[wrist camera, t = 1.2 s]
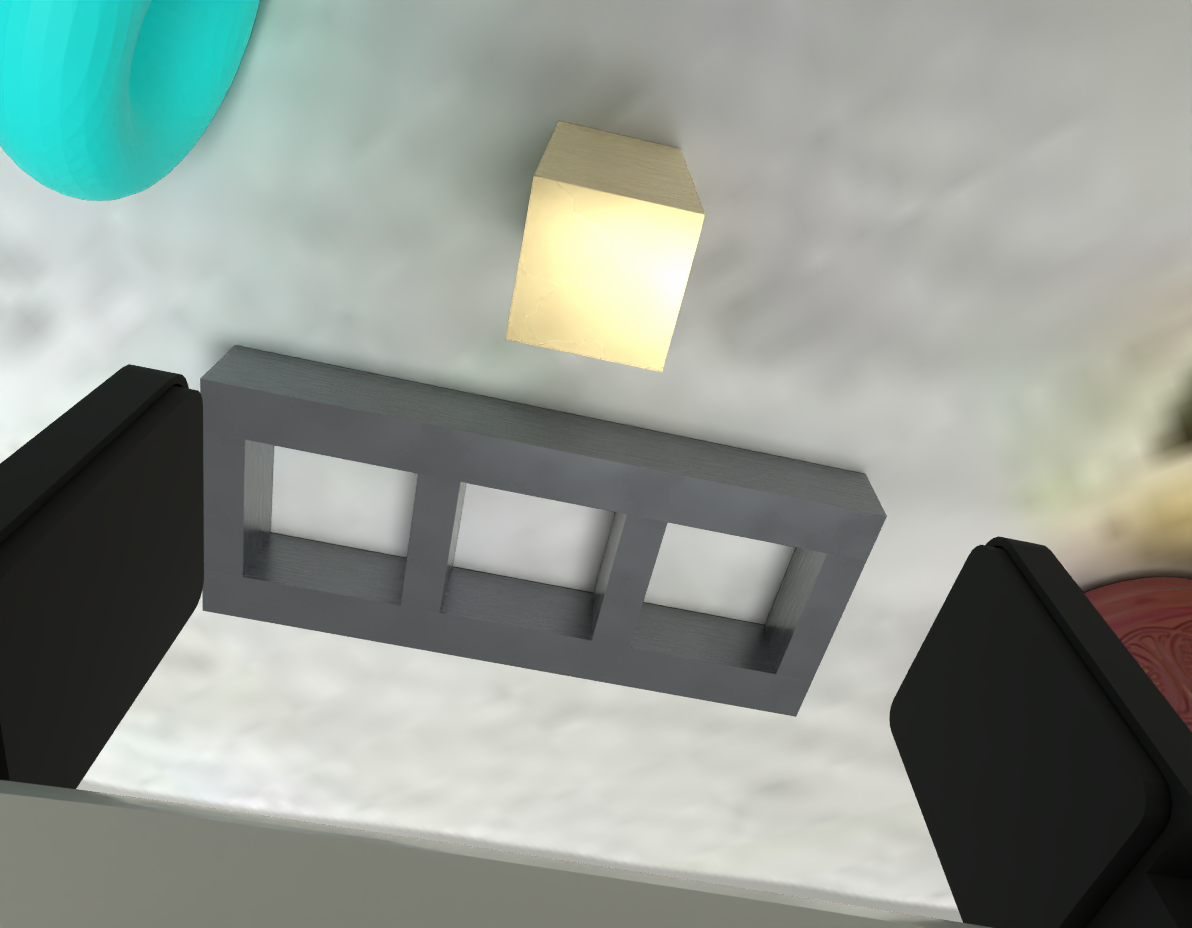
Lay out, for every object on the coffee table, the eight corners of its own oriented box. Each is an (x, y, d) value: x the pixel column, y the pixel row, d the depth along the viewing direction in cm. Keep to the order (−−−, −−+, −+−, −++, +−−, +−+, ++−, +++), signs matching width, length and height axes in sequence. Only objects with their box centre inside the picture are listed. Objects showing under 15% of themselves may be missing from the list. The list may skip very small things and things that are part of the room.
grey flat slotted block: (865, 474, 33) (886, 516, 31) (783, 666, 38) (796, 716, 35) (235, 345, 31) (200, 378, 29) (233, 564, 36) (202, 610, 33)
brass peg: (680, 148, 28) (704, 214, 20) (650, 268, 30) (661, 372, 22) (558, 120, 27) (533, 176, 19) (536, 243, 29) (505, 339, 21)
